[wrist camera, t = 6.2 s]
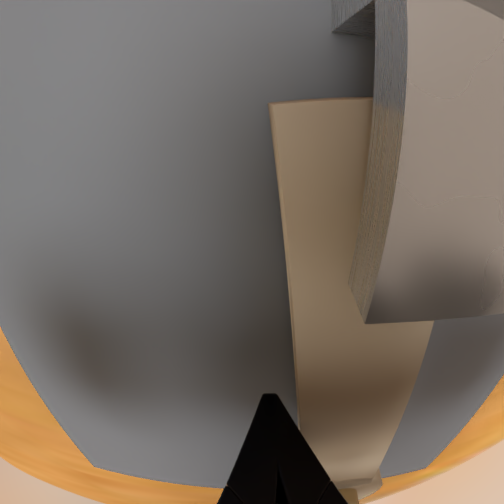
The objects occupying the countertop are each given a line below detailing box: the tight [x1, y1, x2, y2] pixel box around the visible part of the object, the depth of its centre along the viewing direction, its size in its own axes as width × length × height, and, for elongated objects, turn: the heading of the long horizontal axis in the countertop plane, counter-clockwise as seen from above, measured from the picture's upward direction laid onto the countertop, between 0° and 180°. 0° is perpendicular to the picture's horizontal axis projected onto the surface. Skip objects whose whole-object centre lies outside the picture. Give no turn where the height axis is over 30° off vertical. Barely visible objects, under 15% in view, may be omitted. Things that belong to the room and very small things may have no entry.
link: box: [268, 97, 434, 504], centre depth 9 cm, size 17×4×3 cm, turn 8°
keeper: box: [331, 0, 504, 324], centre depth 4 cm, size 7×5×4 cm
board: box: [0, 0, 504, 488], centre depth 10 cm, size 24×22×1 cm
